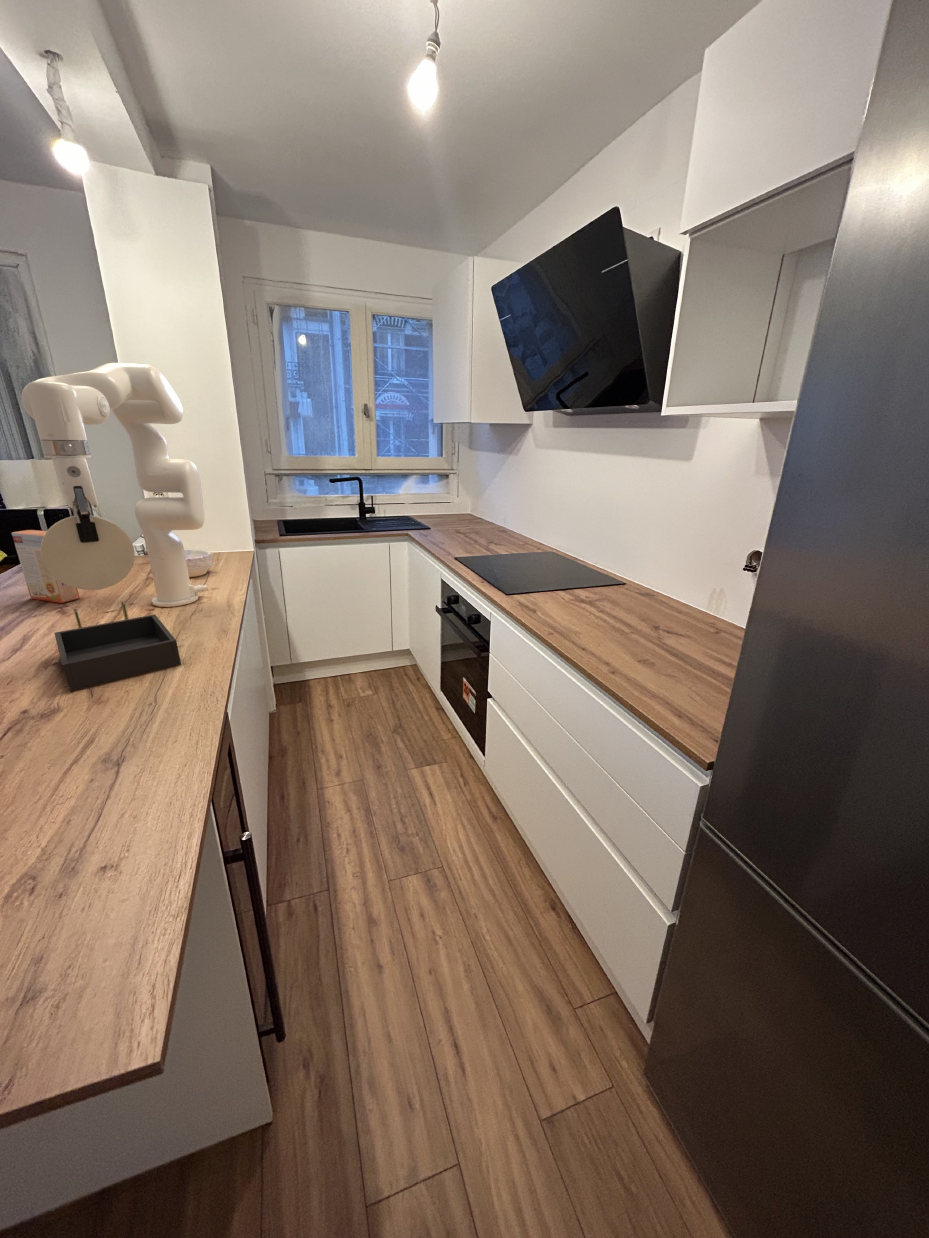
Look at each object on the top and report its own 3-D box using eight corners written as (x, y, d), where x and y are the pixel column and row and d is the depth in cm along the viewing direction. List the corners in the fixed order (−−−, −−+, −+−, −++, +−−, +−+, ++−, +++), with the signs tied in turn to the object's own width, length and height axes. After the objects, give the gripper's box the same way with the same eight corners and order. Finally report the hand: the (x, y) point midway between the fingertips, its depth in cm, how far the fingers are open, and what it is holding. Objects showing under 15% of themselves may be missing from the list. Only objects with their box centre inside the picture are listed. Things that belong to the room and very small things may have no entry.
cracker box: (81, 598, 152) (63, 532, 145) (61, 604, 147) (41, 535, 139) (51, 593, 156) (32, 528, 149) (30, 598, 151) (9, 531, 144)
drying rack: (139, 620, 135) (133, 596, 132) (144, 628, 129) (138, 604, 127) (66, 634, 125) (59, 608, 122) (69, 643, 119) (61, 617, 117)
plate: (142, 580, 112) (122, 510, 106) (143, 581, 112) (123, 511, 106) (55, 596, 103) (28, 520, 97) (55, 597, 102) (28, 521, 96)
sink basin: (159, 636, 125) (155, 614, 123) (181, 664, 110) (176, 640, 107) (61, 656, 112) (54, 632, 110) (70, 692, 97) (62, 665, 95)
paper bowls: (201, 580, 173) (197, 558, 171) (159, 579, 174) (154, 557, 171) (221, 569, 188) (218, 549, 185) (182, 569, 188) (179, 548, 185)
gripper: (94, 451, 94) (115, 545, 100) (85, 449, 105) (105, 534, 111) (44, 451, 89) (70, 549, 96) (40, 449, 100) (64, 537, 107)
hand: (89, 540), depth 104 cm, fingers closed on plate, 1 cm apart
